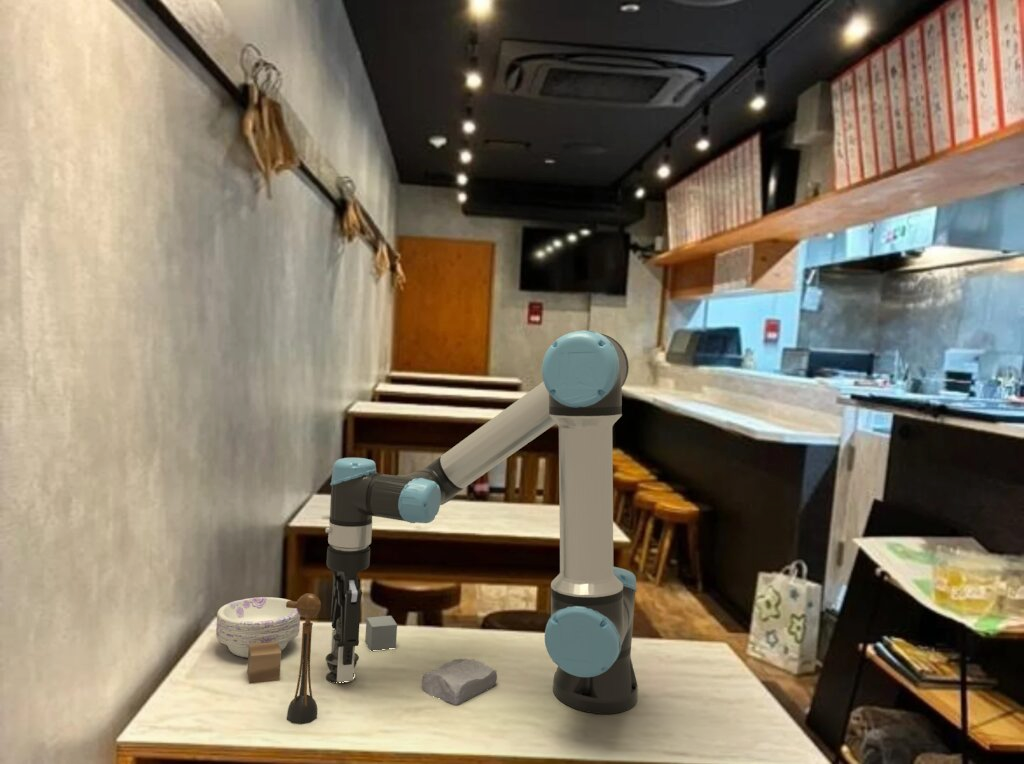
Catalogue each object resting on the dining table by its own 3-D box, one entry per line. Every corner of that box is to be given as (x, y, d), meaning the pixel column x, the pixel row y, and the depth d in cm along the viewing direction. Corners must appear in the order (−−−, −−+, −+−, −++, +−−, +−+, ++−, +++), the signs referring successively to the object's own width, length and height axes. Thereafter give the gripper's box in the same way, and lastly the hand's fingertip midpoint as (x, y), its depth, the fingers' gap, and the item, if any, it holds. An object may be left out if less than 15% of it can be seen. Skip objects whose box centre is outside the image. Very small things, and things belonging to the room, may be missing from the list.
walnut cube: (279, 680, 130) (281, 653, 130) (249, 684, 128) (251, 655, 128) (276, 668, 135) (277, 641, 134) (247, 671, 133) (248, 644, 132)
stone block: (415, 700, 130) (458, 708, 125) (414, 672, 131) (457, 679, 125) (459, 681, 140) (501, 688, 134) (458, 655, 140) (499, 660, 135)
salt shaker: (364, 675, 134) (368, 610, 134) (344, 687, 129) (348, 620, 129) (338, 667, 137) (342, 603, 136) (317, 679, 132) (321, 612, 131)
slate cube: (395, 649, 147) (397, 624, 146) (370, 652, 145) (372, 626, 144) (389, 639, 151) (390, 615, 151) (365, 642, 149) (366, 617, 149)
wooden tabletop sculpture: (275, 721, 116) (282, 596, 116) (287, 707, 121) (294, 586, 120) (311, 725, 116) (318, 600, 115) (322, 711, 120) (329, 590, 120)
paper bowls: (257, 627, 153) (259, 589, 152) (315, 645, 146) (317, 605, 146) (196, 652, 139) (199, 611, 138) (257, 673, 132) (260, 629, 132)
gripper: (319, 532, 139) (311, 653, 140) (337, 561, 122) (329, 699, 123) (359, 531, 142) (351, 649, 143) (382, 559, 125) (374, 693, 126)
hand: (341, 672), depth 133 cm, fingers closed on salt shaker, 6 cm apart
